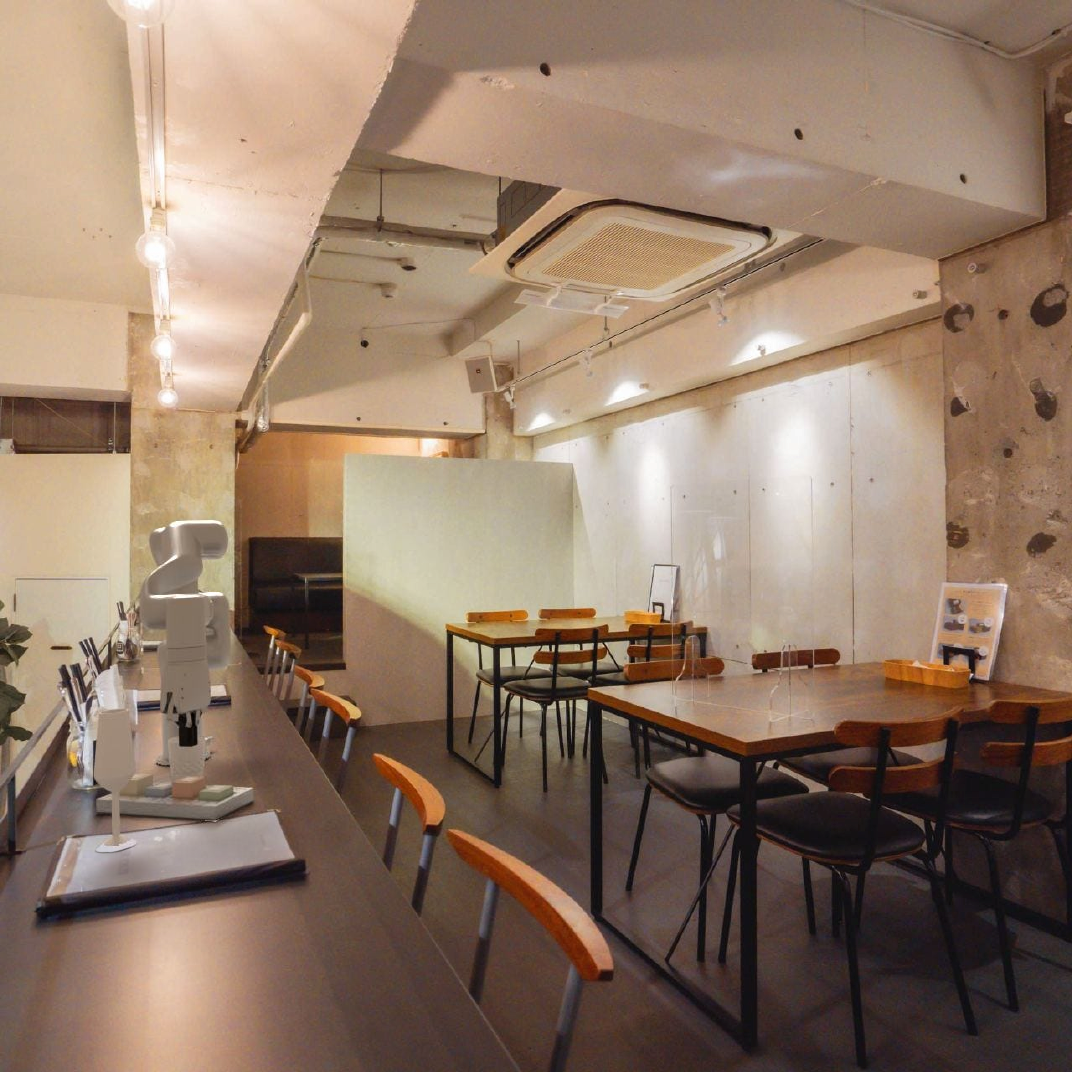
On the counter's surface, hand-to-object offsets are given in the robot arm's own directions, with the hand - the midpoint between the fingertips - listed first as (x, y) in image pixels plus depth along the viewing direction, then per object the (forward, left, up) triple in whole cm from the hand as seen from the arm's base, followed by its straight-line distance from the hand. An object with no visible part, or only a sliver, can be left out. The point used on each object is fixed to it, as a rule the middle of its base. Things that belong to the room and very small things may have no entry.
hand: (188, 745), depth 158 cm
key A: (0, 0, -10) cm, 11 cm away
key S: (0, -13, -11) cm, 17 cm away
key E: (0, +6, -12) cm, 14 cm away
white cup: (-17, -15, -13) cm, 26 cm away
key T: (0, -7, -12) cm, 14 cm away
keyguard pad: (0, -4, -13) cm, 13 cm away
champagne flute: (+20, 0, -13) cm, 24 cm away
